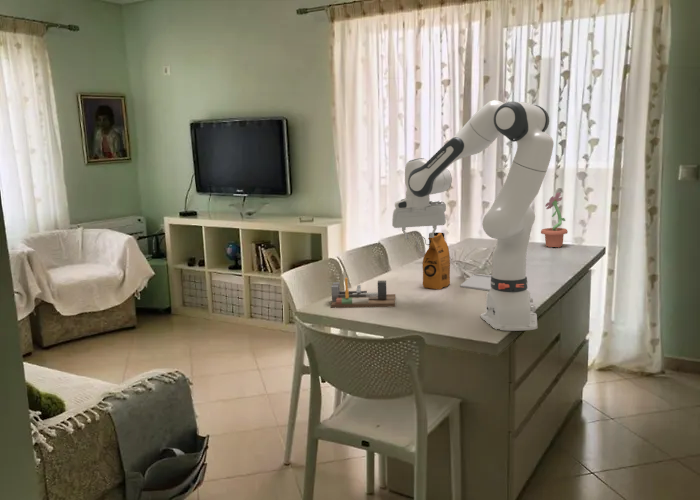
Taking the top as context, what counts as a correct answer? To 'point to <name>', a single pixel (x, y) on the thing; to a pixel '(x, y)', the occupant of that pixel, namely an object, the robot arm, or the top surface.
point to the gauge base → (371, 303)
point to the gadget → (478, 282)
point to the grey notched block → (379, 295)
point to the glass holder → (429, 240)
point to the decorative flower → (555, 234)
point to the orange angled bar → (346, 288)
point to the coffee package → (436, 264)
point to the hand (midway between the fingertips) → (419, 238)
